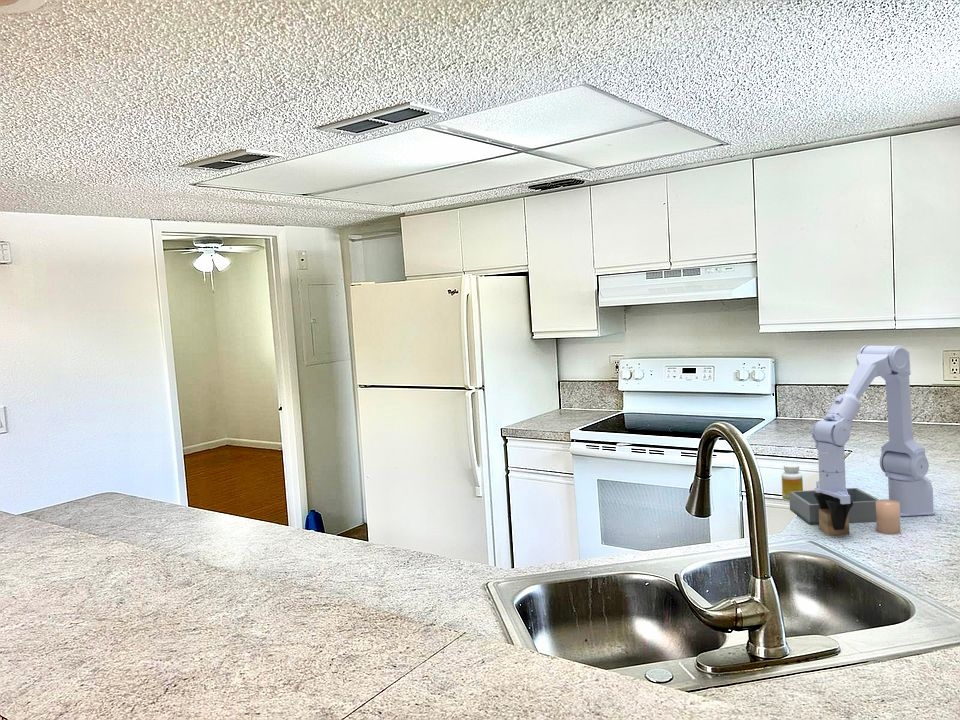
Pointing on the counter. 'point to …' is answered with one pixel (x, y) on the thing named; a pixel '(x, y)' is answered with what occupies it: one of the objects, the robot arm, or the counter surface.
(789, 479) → the supplement bottle
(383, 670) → the counter surface
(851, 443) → the counter surface
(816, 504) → the tote
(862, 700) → the counter surface
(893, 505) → the terracotta cylinder
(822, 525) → the walnut cube
